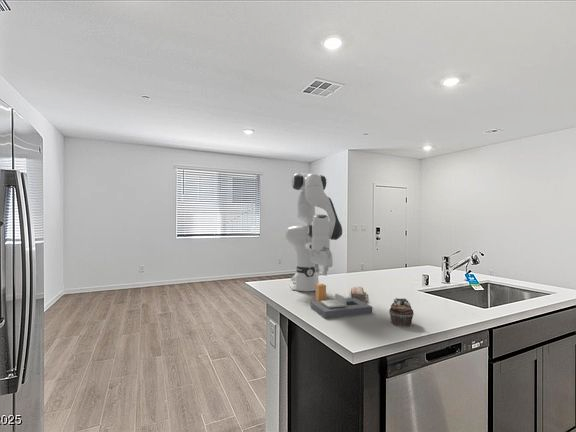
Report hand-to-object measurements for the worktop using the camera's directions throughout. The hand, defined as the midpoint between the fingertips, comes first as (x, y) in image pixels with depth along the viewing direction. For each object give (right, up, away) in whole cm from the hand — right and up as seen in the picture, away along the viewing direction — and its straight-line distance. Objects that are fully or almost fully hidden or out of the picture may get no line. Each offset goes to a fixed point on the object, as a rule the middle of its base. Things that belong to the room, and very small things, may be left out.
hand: (320, 273), depth 152 cm
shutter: (+5, -12, -11) cm, 17 cm away
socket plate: (+8, -16, -10) cm, 20 cm away
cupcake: (+31, -16, -27) cm, 44 cm away
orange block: (0, -16, 0) cm, 16 cm away
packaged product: (+22, -16, +14) cm, 31 cm away
